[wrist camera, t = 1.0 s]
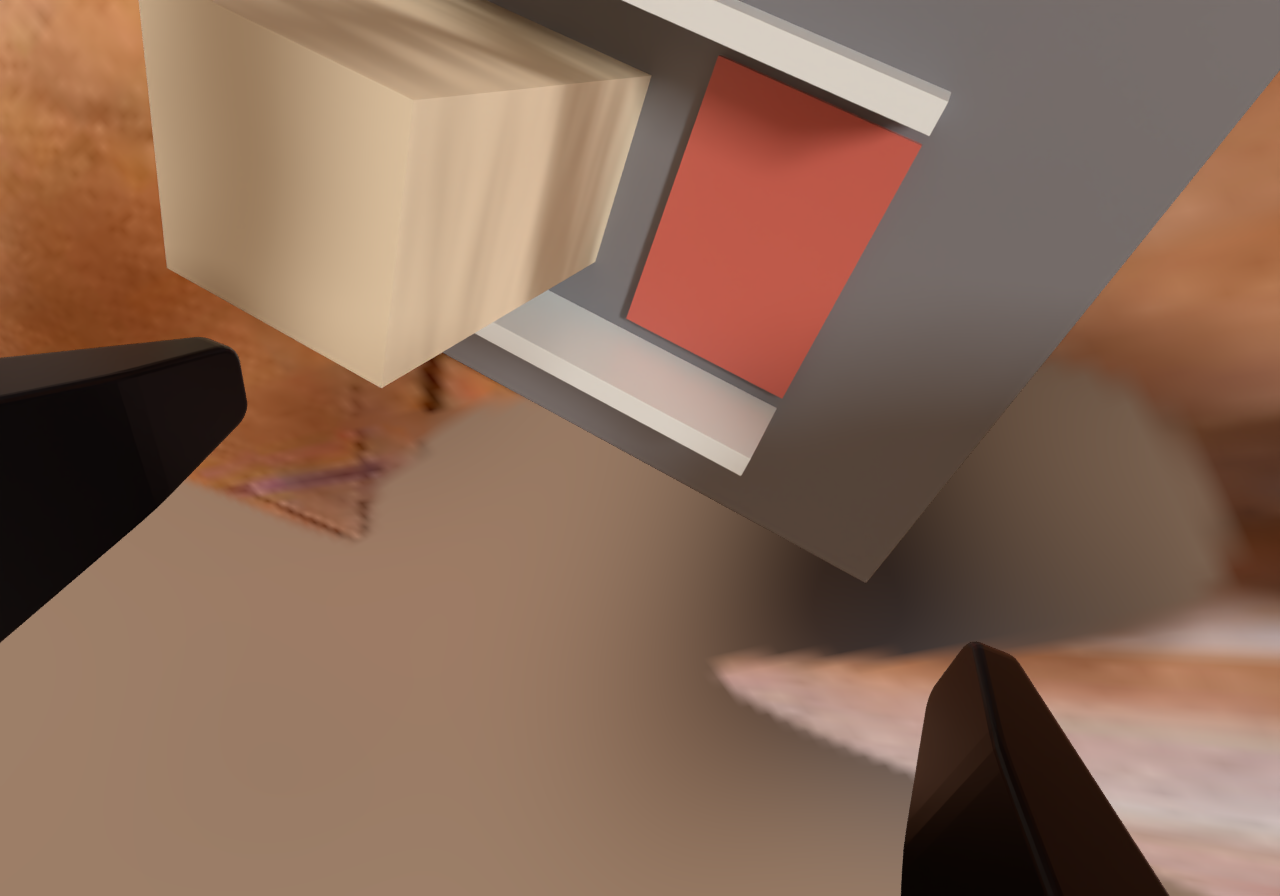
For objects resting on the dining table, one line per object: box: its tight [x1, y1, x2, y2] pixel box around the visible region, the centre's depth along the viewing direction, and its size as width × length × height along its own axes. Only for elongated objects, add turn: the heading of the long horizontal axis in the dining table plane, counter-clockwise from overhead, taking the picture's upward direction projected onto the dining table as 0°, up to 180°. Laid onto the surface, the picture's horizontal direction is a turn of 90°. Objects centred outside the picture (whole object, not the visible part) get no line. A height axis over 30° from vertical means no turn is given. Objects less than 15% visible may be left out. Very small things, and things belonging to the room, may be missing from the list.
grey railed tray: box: [442, 0, 1280, 583], centre depth 17 cm, size 26×16×4 cm, turn 69°
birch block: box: [139, 0, 652, 388], centre depth 15 cm, size 5×5×9 cm
